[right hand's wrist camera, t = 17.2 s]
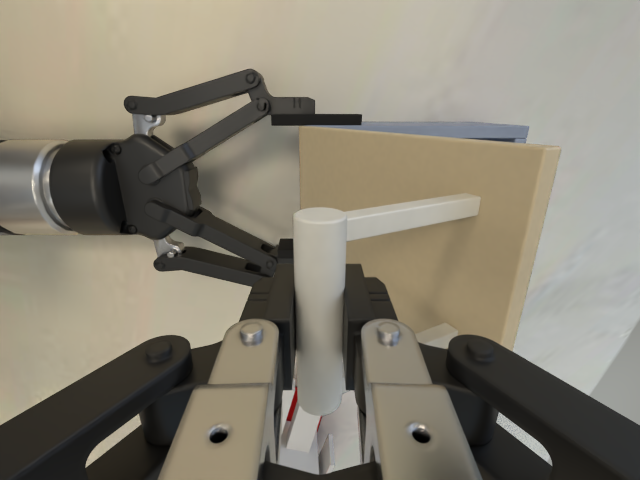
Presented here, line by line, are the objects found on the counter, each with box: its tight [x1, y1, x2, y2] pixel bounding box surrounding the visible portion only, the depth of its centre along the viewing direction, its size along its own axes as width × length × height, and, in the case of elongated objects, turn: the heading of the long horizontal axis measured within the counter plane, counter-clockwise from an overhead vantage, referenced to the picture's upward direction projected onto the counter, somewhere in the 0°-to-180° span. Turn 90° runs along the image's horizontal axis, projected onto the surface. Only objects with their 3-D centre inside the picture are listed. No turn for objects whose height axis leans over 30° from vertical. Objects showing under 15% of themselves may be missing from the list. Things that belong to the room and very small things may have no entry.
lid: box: [293, 126, 561, 416], centre depth 17 cm, size 16×10×8 cm
